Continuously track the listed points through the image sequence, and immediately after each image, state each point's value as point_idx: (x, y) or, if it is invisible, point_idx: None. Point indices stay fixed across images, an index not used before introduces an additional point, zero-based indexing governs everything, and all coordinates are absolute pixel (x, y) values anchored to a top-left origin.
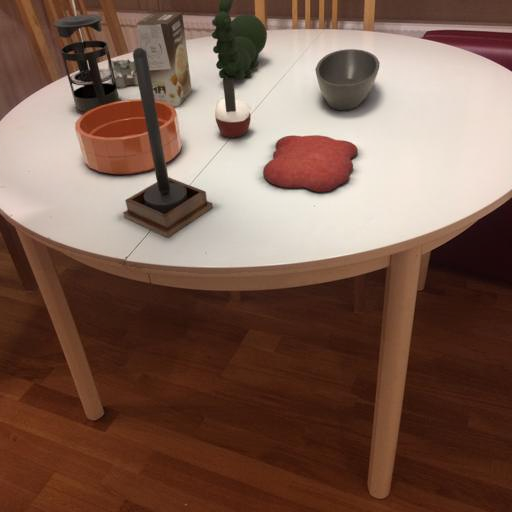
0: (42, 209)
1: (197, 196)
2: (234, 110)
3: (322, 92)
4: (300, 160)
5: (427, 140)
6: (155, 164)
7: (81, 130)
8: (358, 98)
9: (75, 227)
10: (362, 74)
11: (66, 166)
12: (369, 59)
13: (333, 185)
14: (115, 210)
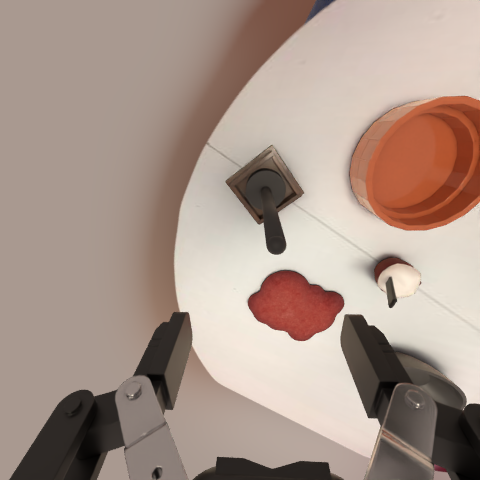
0: (324, 49)
1: (253, 216)
2: (385, 284)
3: (398, 357)
4: (287, 302)
5: (292, 378)
6: (263, 195)
7: (430, 106)
8: None
9: (271, 93)
10: None
11: (421, 75)
12: None
13: (249, 308)
14: (288, 136)
